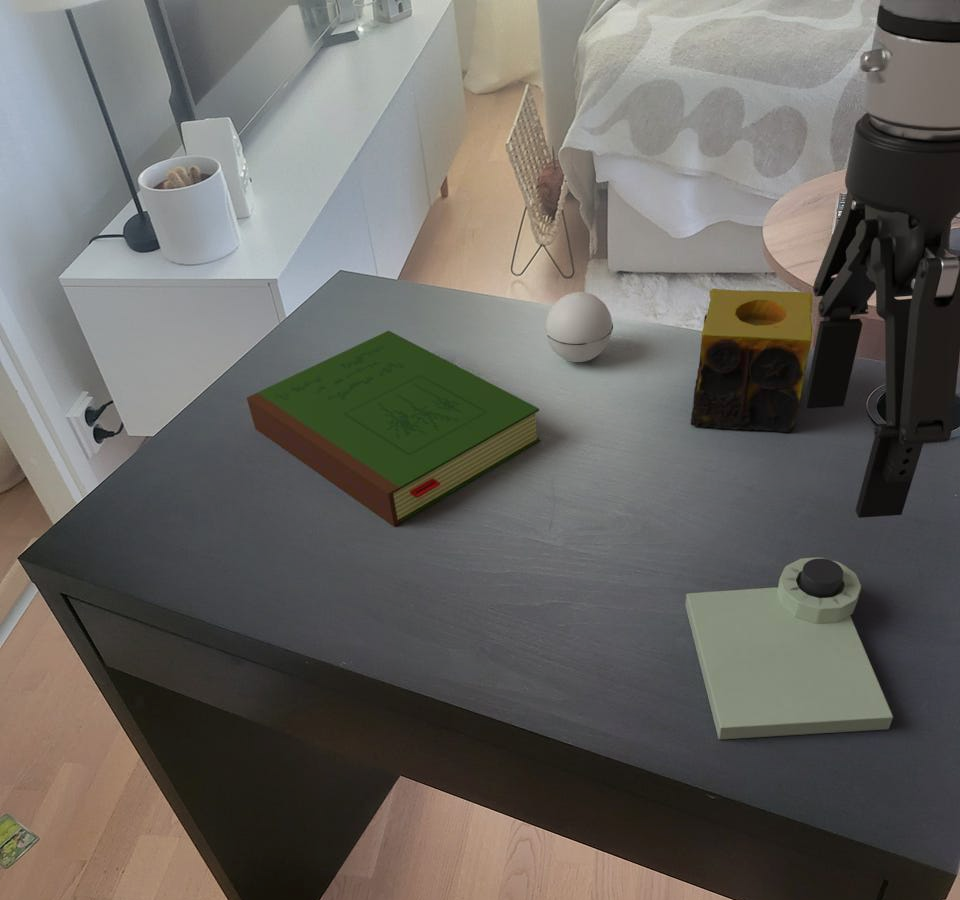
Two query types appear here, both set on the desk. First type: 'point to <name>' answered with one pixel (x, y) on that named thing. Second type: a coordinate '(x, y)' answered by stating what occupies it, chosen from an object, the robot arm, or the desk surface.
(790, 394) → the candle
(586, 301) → the white ball
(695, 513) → the desk surface
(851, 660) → the scale
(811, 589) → the button
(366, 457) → the hardcover book
